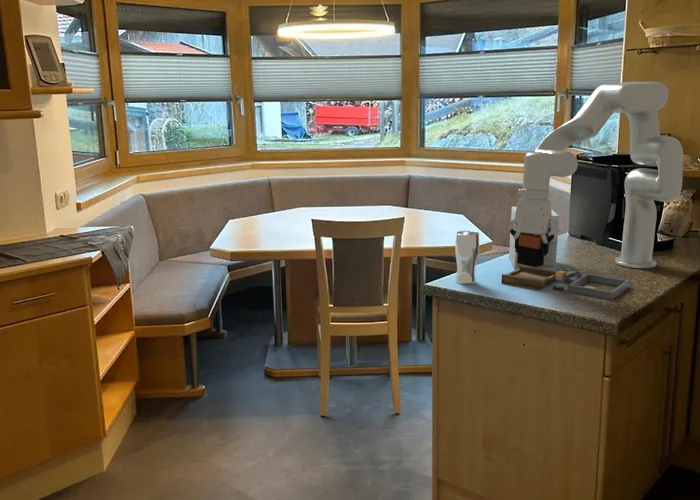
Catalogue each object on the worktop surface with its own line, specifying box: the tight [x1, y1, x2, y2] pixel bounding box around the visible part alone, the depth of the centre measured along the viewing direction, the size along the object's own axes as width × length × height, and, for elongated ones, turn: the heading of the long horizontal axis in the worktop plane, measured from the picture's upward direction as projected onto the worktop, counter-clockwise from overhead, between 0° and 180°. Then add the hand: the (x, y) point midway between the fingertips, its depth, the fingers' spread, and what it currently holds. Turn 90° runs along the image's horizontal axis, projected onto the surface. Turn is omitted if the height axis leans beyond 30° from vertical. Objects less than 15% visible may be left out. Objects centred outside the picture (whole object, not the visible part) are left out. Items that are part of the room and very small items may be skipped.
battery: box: [517, 233, 544, 267], centre depth 200 cm, size 4×7×10 cm, turn 42°
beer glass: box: [454, 230, 480, 285], centre depth 200 cm, size 7×7×15 cm
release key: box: [555, 270, 578, 281], centre depth 198 cm, size 12×2×2 cm, turn 142°
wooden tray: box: [500, 266, 558, 291], centre depth 202 cm, size 13×12×3 cm
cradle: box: [567, 273, 630, 301], centre depth 194 cm, size 16×12×2 cm
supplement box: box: [508, 206, 560, 272], centre depth 220 cm, size 17×13×18 cm
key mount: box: [552, 267, 583, 292], centre depth 199 cm, size 14×5×3 cm, turn 142°
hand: (531, 253), depth 200 cm, fingers closed on battery, 7 cm apart
